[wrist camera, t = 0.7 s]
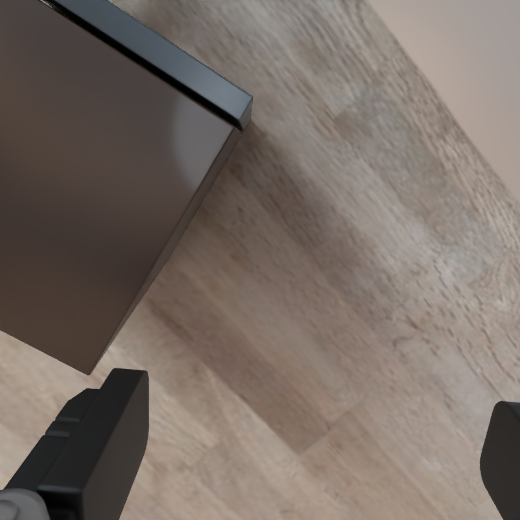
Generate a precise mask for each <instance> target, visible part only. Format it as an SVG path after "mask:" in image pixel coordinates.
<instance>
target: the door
mask: <svg viewBox="0 0 520 520" xmlns="http://www.w3.org/2000/svg"><path fill="white" fill-rule="evenodd" d="M43 1H44V2H46V3H47V4H49V5H50V6H52V7H54V8H55V9H57V10H58V11H60V12H61V13H63V14H64V15H66V16H67V17H69V18H71V19H72V20H74V21H75V22H77V23H78V24H80V25H81V26H83V27H84V28H86V29H88V30H89V31H91V32H92V33H94V34H95V35H97V36H98V37H100V38H101V39H103V40H105V41H106V42H108V43H109V44H111V45H112V46H114V47H115V48H117V49H118V50H120V51H122V52H123V53H125V54H126V55H128V56H129V57H131V58H132V59H134V60H135V61H137V62H139V63H140V64H142V65H143V66H145V67H146V68H148V69H149V70H151V71H152V72H154V73H156V74H157V75H159V76H160V77H162V78H163V79H165V80H166V81H168V82H169V83H171V84H173V85H174V86H176V87H177V88H179V89H180V90H182V91H183V92H185V93H186V94H188V95H190V96H191V97H193V98H194V99H196V100H197V101H199V102H200V103H202V104H203V105H205V106H207V107H208V108H210V109H211V110H213V111H214V112H216V113H217V114H219V115H220V116H222V117H224V118H225V119H227V120H228V121H230V122H231V123H233V124H234V125H236V126H237V127H239V128H241V129H242V130H245V128H246V127H247V125H248V123H249V122H250V120H251V112H252V102H253V97H252V96H251V95H250V94H248V93H247V92H245V91H244V90H242V89H241V88H239V87H237V86H236V85H234V84H233V83H231V82H230V81H228V80H227V79H225V78H224V77H222V76H221V75H219V74H218V73H216V72H215V71H213V70H212V69H210V68H209V67H207V66H206V65H204V64H203V63H201V62H200V61H198V60H197V59H195V58H194V57H192V56H191V55H189V54H188V53H186V52H185V51H183V50H182V49H180V48H179V47H177V46H176V45H174V44H173V43H171V42H170V41H168V40H167V39H165V38H164V37H162V36H161V35H159V34H158V33H156V32H155V31H153V30H152V29H150V28H148V27H147V26H145V25H144V24H142V23H141V22H139V21H138V20H136V19H135V18H133V17H132V16H130V15H129V14H127V13H126V12H124V11H123V10H121V9H120V8H118V7H117V6H115V5H114V4H112V3H111V2H109V1H108V0H43Z"/></svg>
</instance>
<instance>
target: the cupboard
mask: <svg viewBox="0 0 520 520" xmlns="http://www.w3.org/2000/svg"><path fill="white" fill-rule="evenodd" d="M241 135H242V133H241V132H240V131H239V130H238V129H237V128H236V127H235V126H234V125H232V124H231V123H229V122H227V121H226V120H224V119H223V118H221V117H220V116H218V115H217V114H215V113H214V112H212V111H210V110H209V109H207V108H206V107H204V106H203V105H201V104H200V103H198V102H197V101H195V100H193V99H192V98H190V97H189V96H187V95H186V94H184V93H183V92H181V91H179V90H178V89H176V88H175V87H173V86H172V85H170V84H169V83H167V82H166V81H164V80H162V79H161V78H159V77H158V76H156V75H155V74H153V73H152V72H150V71H149V70H147V69H145V68H144V67H142V66H141V65H139V64H138V63H136V62H135V61H133V60H132V59H130V58H128V57H127V56H125V55H124V54H122V53H121V52H119V51H118V50H116V49H114V48H113V47H111V46H110V45H108V44H107V43H105V42H104V41H102V40H101V39H99V38H97V37H96V36H94V35H93V34H91V33H90V32H88V31H87V30H85V29H84V28H82V27H80V26H79V25H77V24H76V23H74V22H73V21H71V20H70V19H68V18H67V17H65V16H63V15H62V14H60V13H59V12H57V11H56V10H54V9H53V8H51V7H50V6H48V5H46V4H45V3H43V2H42V1H40V0H0V330H1V331H3V332H5V333H7V334H9V335H11V336H13V337H15V338H16V339H18V340H20V341H22V342H24V343H26V344H28V345H30V346H32V347H34V348H36V349H38V350H40V351H42V352H44V353H45V354H47V355H49V356H51V357H53V358H55V359H57V360H59V361H61V362H63V363H65V364H67V365H69V366H71V367H73V368H75V369H76V370H78V371H80V372H82V373H84V374H86V375H90V374H91V373H92V371H93V370H94V368H95V367H96V365H97V364H98V362H99V361H100V359H101V358H102V357H103V355H104V354H105V352H106V351H107V349H108V348H109V346H110V345H111V343H112V342H113V340H114V339H115V337H116V336H117V334H118V333H119V331H120V330H121V328H122V327H123V325H124V324H125V322H126V321H127V319H128V318H129V317H130V315H131V314H132V312H133V311H134V309H135V308H136V306H137V305H138V303H139V302H140V300H141V299H142V297H143V296H144V294H145V293H146V291H147V290H148V288H149V287H150V285H151V284H152V282H153V281H154V280H155V278H156V277H157V275H158V274H159V272H160V271H161V269H162V268H163V266H164V265H165V263H166V261H167V260H168V258H169V256H170V255H171V253H172V251H173V250H174V248H175V246H176V245H177V243H178V241H179V240H180V238H181V236H182V234H183V233H184V231H185V229H186V228H187V226H188V224H189V223H190V221H191V219H192V218H193V216H194V214H195V213H196V211H197V209H198V208H199V206H200V204H201V202H202V201H203V199H204V197H205V196H206V194H207V192H208V191H209V189H210V187H211V186H212V184H213V182H214V181H215V179H216V177H217V176H218V174H219V172H220V170H221V169H222V167H223V165H224V164H225V162H226V160H227V159H228V157H229V155H230V154H231V152H232V150H233V149H234V147H235V145H236V144H237V142H238V140H239V139H240V137H241Z"/></svg>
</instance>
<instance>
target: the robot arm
mask: <svg viewBox="0 0 520 520" xmlns="http://www.w3.org/2000/svg"><path fill="white" fill-rule="evenodd" d="M148 432H149V377H148V372H147V371H144V370H132V369H120V368H114V369H113V370H112V371H111V372H110V374H109V375H108V377H107V379H106V380H105V382H104V383H103V385H102V386H101V388H100V389H90V388H87V389H85V390H84V391H82V392H81V393H79V394H78V395H76V396H75V397H73V398H72V399H70V400H69V401H68V402H67V403H66V404H65V406H64V407H63V409H62V410H61V411H60V413H59V414H58V415H57V417H56V420H55V421H53V422H52V424H51V425H50V426H49V428H48V429H47V430H46V433H45V435H43V436H42V437H41V439H40V440H39V441H38V443H37V444H36V445H35V447H34V448H33V450H32V451H31V452H30V454H29V455H28V456H27V458H26V459H25V461H24V462H23V463H22V465H21V466H20V467H19V469H18V470H17V472H16V473H15V474H14V476H13V477H12V478H11V480H10V481H9V482H8V484H7V485H6V487H5V488H4V489H3V490H0V520H119V518H120V515H121V513H122V510H123V508H124V505H125V503H126V500H127V497H128V495H129V492H130V490H131V487H132V485H133V482H134V479H135V477H136V474H137V472H138V469H139V467H140V464H141V462H142V459H143V456H144V453H145V450H146V445H147V440H148ZM480 471H481V477H482V480H483V483H484V485H485V488H486V489H487V491H488V493H489V495H490V497H491V498H492V500H493V502H494V504H495V505H496V507H497V509H498V511H499V513H500V514H501V516H502V518H503V520H520V403H518V402H506V401H500V402H498V403H497V404H496V405H495V407H494V409H493V412H492V416H491V420H490V423H489V427H488V431H487V435H486V438H485V442H484V446H483V449H482V453H481V457H480Z"/></svg>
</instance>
